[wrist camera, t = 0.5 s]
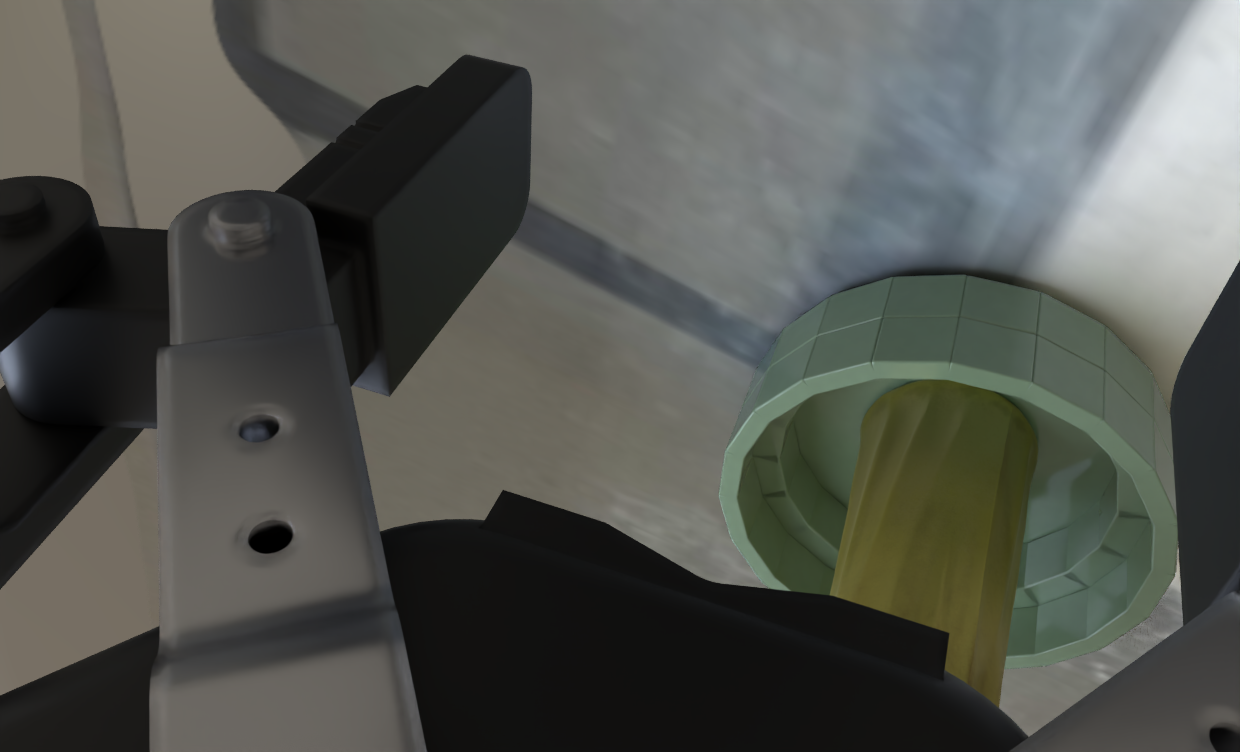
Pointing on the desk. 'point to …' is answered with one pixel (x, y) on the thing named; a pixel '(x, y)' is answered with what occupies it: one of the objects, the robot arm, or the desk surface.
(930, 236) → the desk surface
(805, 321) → the bowl
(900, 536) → the vase
